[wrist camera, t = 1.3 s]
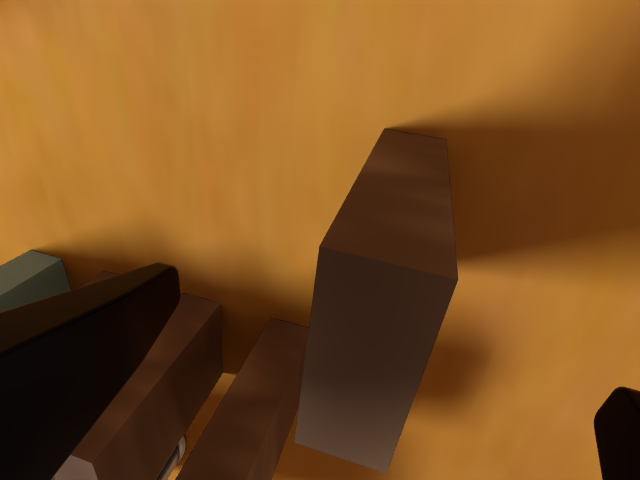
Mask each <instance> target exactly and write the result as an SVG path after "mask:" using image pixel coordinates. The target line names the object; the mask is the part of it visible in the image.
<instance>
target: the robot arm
mask: <svg viewBox="0 0 640 480" xmlns="http://www.w3.org/2000/svg"><path fill="white" fill-rule="evenodd" d="M179 301H180V284H179V274H178V270H177V268H176V267H175V266H172V265H168V264H165V263H155V264H151V265H148V266H145V267H142V268H139V269H136V270H133V271H130V272H126V273H123V274H120V275H117V276H114V277H111V278H108V279H105V280H101V281H98V282H95V283H92V284H89V285H86V286H83V287H80V288H76V289H73V290H70V291H67V292H64V293H61V294H58V295H55V296H51V297H48V298H45V299H42V300H39V301H36V302H33V303H30V304H26V305H23V306H20V307H17V308H14V309H11V310H8V311H5V312H1V313H0V480H51V479H52V478H53V477H54V475H55V474H56V473H57V472H58V470H59V469H60V468H61V466H62V465H63V464H64V462H65V461H66V460H67V459H68V457H69V456H70V455H71V453H72V452H73V451H74V450H75V448H76V447H77V446H78V444H79V443H80V442H81V441H82V439H83V438H84V437H85V435H86V434H87V433H88V432H89V430H90V429H91V428H92V426H93V425H94V424H95V422H96V421H97V420H98V419H99V417H100V416H101V415H102V413H103V412H104V411H105V410H106V408H107V407H108V406H109V404H110V403H111V402H112V401H113V399H114V398H115V397H116V395H117V394H118V393H119V392H120V390H121V389H122V388H123V386H124V385H125V384H126V382H127V381H128V380H129V379H130V377H131V376H132V375H133V373H134V372H135V371H136V370H137V368H138V367H139V365H140V364H141V363H142V361H143V360H144V358H145V357H146V355H147V354H148V352H149V351H150V349H151V348H152V346H153V344H154V343H155V341H156V340H157V338H158V336H159V335H160V333H161V332H162V330H163V328H164V327H165V325H166V324H167V322H168V320H169V319H170V317H171V316H172V314H173V312H174V311H175V309H176V308H177V306H178V304H179ZM594 430H595V436H596V442H597V448H598V455H599V461H600V467H601V473H602V479H603V480H640V391H638V390H634V389H630V388H627V387H618V388H616V389H615V390H614V391H613V392H612V393H611V394H610V396H609V397H608V398H607V400H606V401H605V402H604V404H603V405H602V406H601V407H600V409H599V410H598V411H597V413H596V415H595V418H594Z"/></svg>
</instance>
